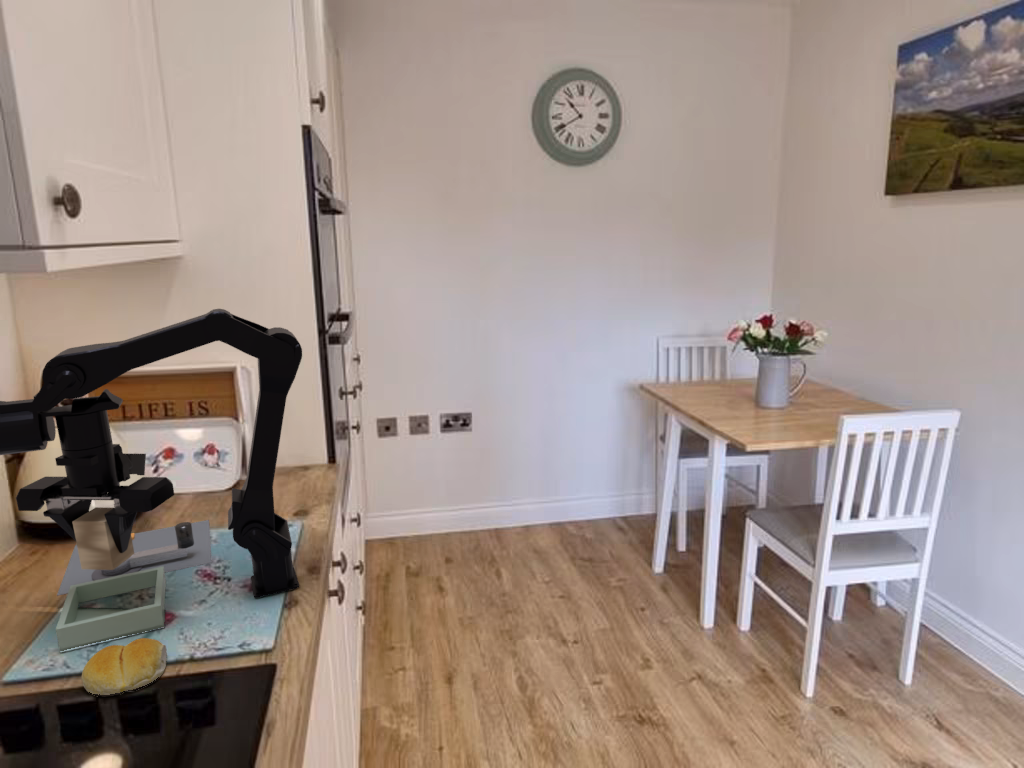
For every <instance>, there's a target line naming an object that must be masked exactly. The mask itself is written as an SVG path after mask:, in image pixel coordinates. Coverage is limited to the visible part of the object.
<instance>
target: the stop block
mask: <svg viewBox="0 0 1024 768" xmlns="http://www.w3.org/2000/svg"><path fill="white" fill-rule="evenodd" d="M113 508H114V507H94V508H92V509H91V510H89V512H87V513H86V514H84V515H82V516H81V517H79V518H77V519H76V520H74V521H73V522H72V523H73V528H74V533H75V538H76V541H75V542H76V545H77V548H78V553H79V558H80V563H81V568H82V569H93V570H114V569H115V568H116V567H118V566H119V565H120V564H121V563H123V562H124V561H125V560H127V559H128V558H129V557H131V556H132V555H133V554H134V549H133V543H132V537H131V536H130V540H129V544H128V548H127V550H126V551H125V552H123V553H120V552H119V551H118V549H117V547H116V545H115V542H114V540H113V537H112V534H111V531H110V529H109V526H108V524H107V521H106V518H105V516H104V514H105V513H107V512H108V511H110V510H112V509H113Z"/></svg>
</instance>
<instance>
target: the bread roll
mask: <svg viewBox="0 0 1024 768" xmlns="http://www.w3.org/2000/svg"><path fill="white" fill-rule="evenodd" d="M167 652H168V651H167V645H165V644H163V643H162V642H161V641H159V640H157V639H153V638H147V637H142V638H138V639H134V640H132V641H131V642H129V643H127V644H126V645H119V644H117V645H115V644H114V645H109V646H106V647H104V648H101V649H100V650H98V652H96V653H94V655H93V656H91V658H90V659H89V660H88V661H87V662H86V664H85V665H84V667H83V669H82V672H81V681H82V685H83V688H84V689H85V690H86V692H88V693H89V692H90V693H92V694H91V695H93V694H98V695H99V694H100V695H110V694H115V693H120V692H123V691H125V692H129V691H128V690H133V689H136V688H139V687H142V686H145V685H147V684H149V683H151V682H152V683H153V681H154V680H155V681H157V680H158V679H159V678H161V676H162V675H163V674H164V672H165V669H166V667H167V662H166V661H167V658H166V657H168V653H167ZM158 677H159V678H158ZM157 678H158V679H157ZM156 679H157V680H156ZM155 681H154V682H155ZM152 683H151V684H152ZM149 685H150V684H149ZM147 686H148V685H147ZM145 687H146V686H145ZM90 693H89V694H90ZM123 693H124V692H123Z"/></svg>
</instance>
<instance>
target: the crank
mask: <svg viewBox="0 0 1024 768" xmlns="http://www.w3.org/2000/svg"><path fill="white" fill-rule="evenodd" d="M191 523H192V522H189V521H185V522H180V523H177V524H175V525H174V526H175V531H176V537H177V544H176V545H171V546H166V547H161V548H156V549H151V550H146V551H141V552H136V553H134V554H133V555H132V556H131V557H129V558H128V559H127V560H125V561H124V562H123V563H121V564H120V565H119V566H118V567H116V568H115V569H114V570H101V573H102V574H104V575H114V574H118V573H122V572H124V571H126V570H128V569H130V568H132V567H137V566H141V565H146V564H151V563H156V562H161V561H166V560H171V559H175V558H180V557H185V556H187V548H188V547H191V546H193V545H194V539H193V532H192V525H191Z"/></svg>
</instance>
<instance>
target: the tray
mask: <svg viewBox="0 0 1024 768" xmlns="http://www.w3.org/2000/svg"><path fill="white" fill-rule="evenodd" d="M166 585H167V578H166V573H165V571H164V566H162V567H157V568H153V569H148V570H143V571H138V572H133V573H129V574H124V575H119V576H114V577H110V578H105V579H100V580H95V581H90V582H86V583H81V584H76V585H71V586H70V589H69V592H68V594H66V596H65V601H64V603H63V607H62V610H61V613H60V615H59V618H58V620H57V621H58V622H57V625H56V627H55V633H56V638H57V644H58V648H59V652H60V651H64V650H67V649H71V648H75V647H79V646H84V645H88V644H92V643H96V642H101V641H106V640H109V639H114V638H119V637H122V636H128V635H132V634H137V633H142V632H145V631H150V630H153V629H158V628H161V627H164V628H165V626H164V622H165V621H166V610H165V609H166V608H165V603H166V602H165V601H166V587H167V586H166ZM153 587H155V591H154V592H155V593H154V603H152V604H148V605H144V606H139V607H134V608H125V607H124V608H123V607H122V608H121V607H89V606H87V607H85V606H84V607H83V606H82V607H81V606H79V605H80V603H85V602H89V601H93V600H98V599H103V598H106V597H107V598H108V597H111V596H116V595H121V594H125V593H130V592H135V591H139V590H143V589H148V588H153ZM165 623H166V622H165Z"/></svg>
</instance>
